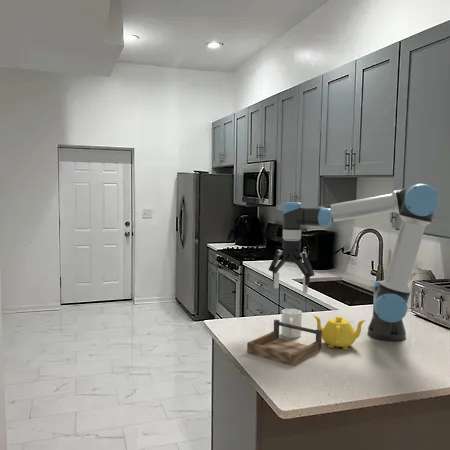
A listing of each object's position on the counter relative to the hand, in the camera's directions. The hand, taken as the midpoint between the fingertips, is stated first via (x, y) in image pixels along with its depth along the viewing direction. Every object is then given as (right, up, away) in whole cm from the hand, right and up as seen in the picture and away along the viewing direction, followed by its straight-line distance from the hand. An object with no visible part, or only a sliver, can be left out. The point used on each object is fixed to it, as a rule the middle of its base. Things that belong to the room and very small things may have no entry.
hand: (290, 290), depth 191 cm
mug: (0, -19, 0) cm, 19 cm away
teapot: (+17, -21, -11) cm, 29 cm away
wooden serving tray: (-5, -21, -18) cm, 28 cm away
